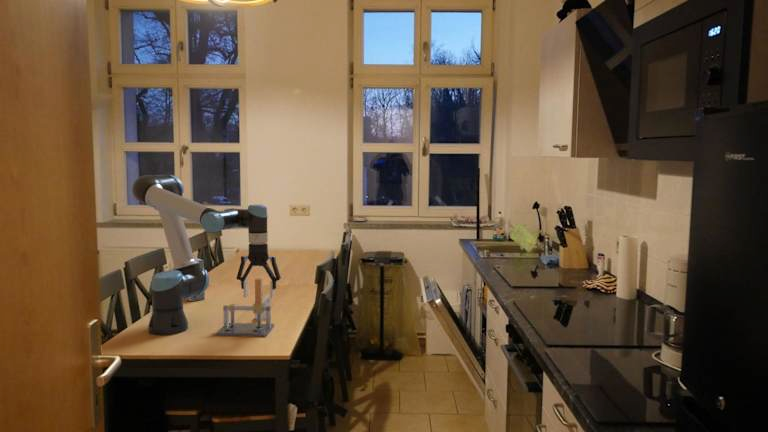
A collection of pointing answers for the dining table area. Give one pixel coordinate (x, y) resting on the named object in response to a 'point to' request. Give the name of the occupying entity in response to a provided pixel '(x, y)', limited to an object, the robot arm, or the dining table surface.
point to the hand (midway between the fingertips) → (258, 296)
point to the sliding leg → (258, 300)
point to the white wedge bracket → (267, 303)
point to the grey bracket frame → (244, 308)
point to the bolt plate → (245, 330)
